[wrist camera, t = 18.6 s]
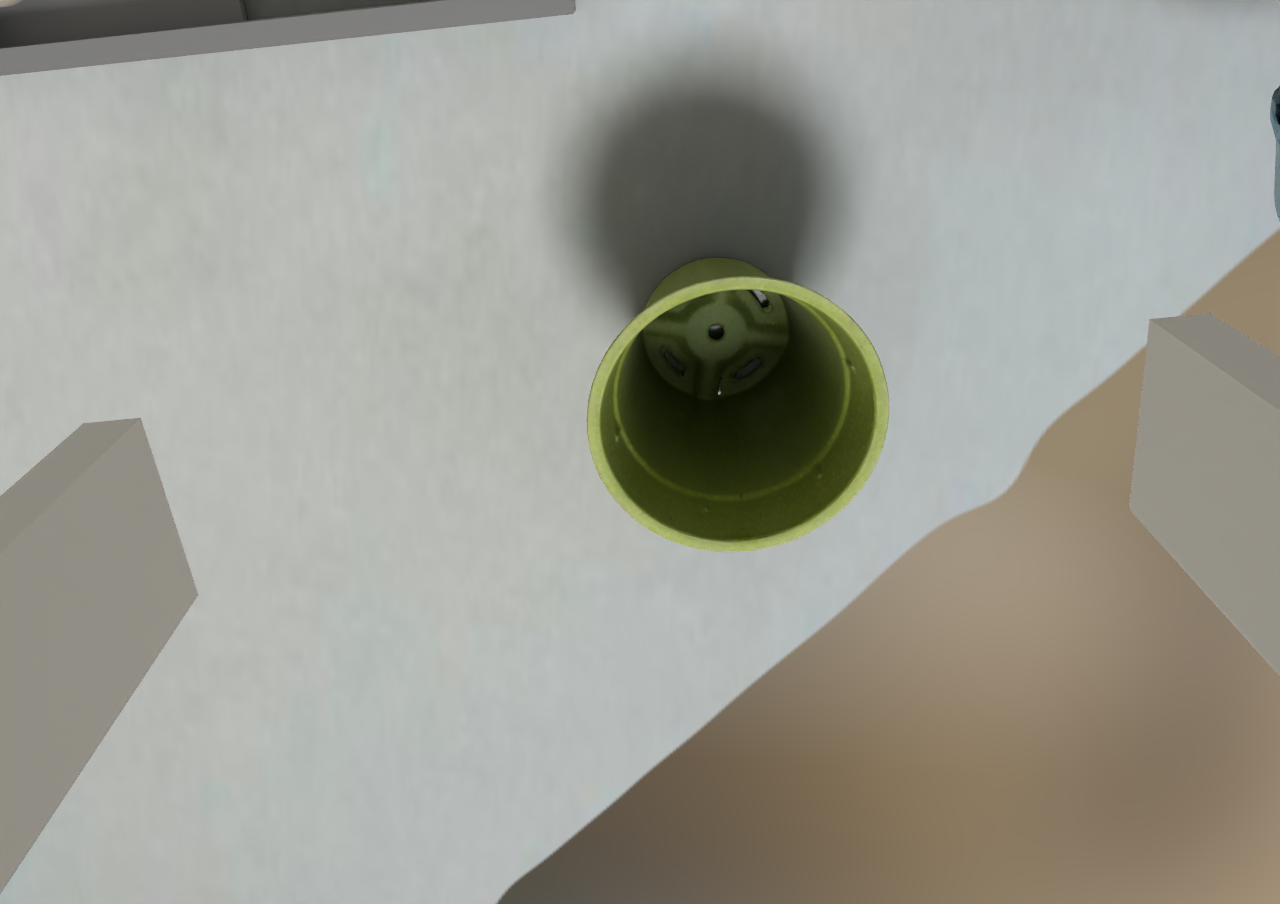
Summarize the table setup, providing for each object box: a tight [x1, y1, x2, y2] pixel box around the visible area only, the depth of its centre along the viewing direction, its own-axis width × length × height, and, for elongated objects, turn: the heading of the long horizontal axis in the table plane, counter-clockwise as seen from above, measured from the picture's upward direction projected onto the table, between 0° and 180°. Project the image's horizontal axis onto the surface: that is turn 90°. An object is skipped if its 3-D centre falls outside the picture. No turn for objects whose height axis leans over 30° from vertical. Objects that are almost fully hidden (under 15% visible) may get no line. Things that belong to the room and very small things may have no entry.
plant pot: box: [587, 258, 889, 552], centre depth 47 cm, size 12×12×11 cm
